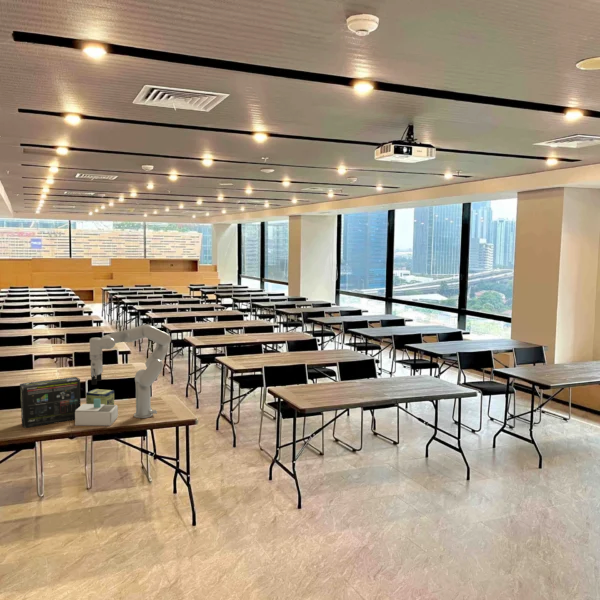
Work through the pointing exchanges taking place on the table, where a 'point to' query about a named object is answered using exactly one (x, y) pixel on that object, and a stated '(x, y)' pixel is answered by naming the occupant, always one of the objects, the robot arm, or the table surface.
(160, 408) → the table surface
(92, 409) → the flap
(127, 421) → the table surface
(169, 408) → the table surface
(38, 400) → the router box
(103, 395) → the protein box
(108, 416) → the white open box
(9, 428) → the table surface
